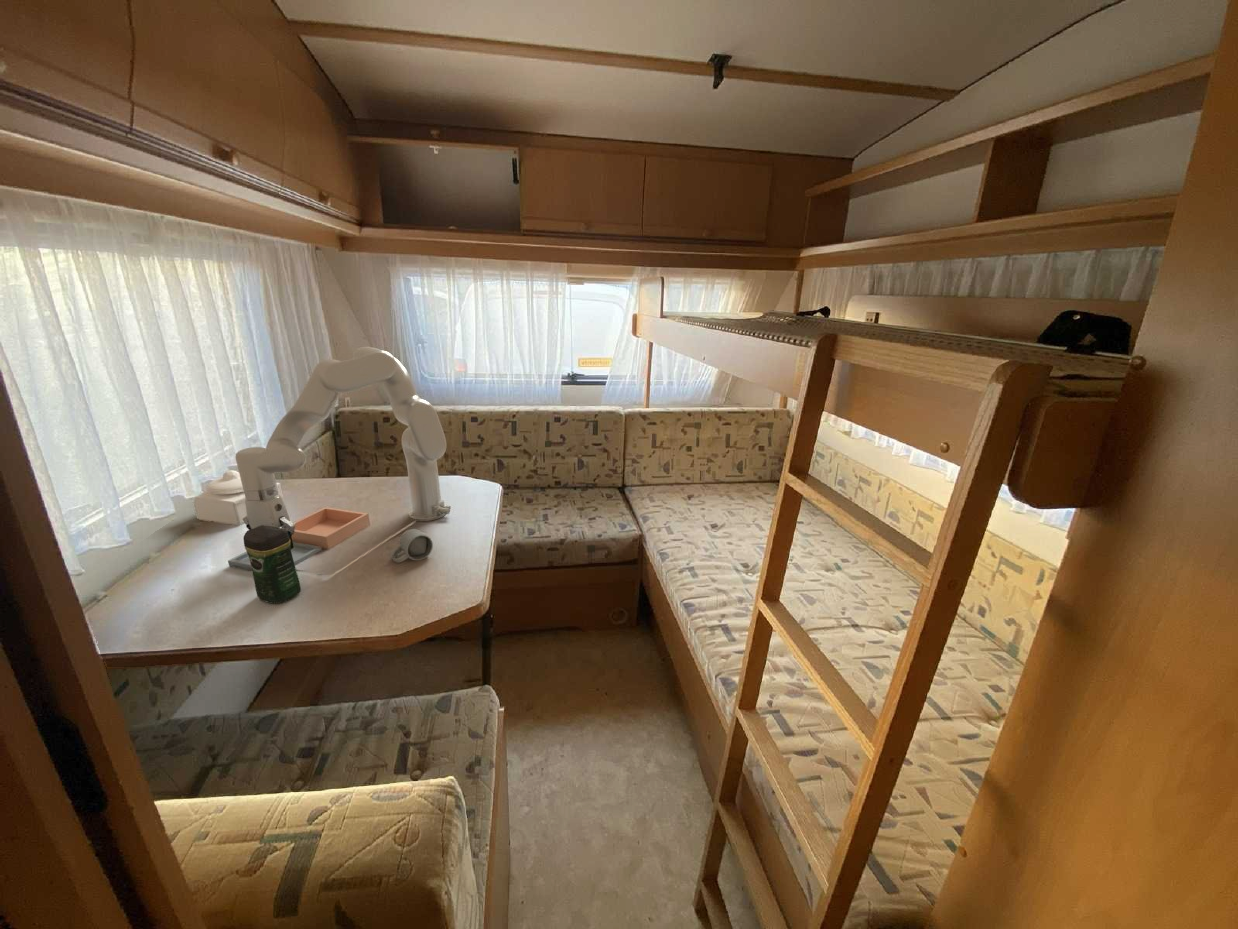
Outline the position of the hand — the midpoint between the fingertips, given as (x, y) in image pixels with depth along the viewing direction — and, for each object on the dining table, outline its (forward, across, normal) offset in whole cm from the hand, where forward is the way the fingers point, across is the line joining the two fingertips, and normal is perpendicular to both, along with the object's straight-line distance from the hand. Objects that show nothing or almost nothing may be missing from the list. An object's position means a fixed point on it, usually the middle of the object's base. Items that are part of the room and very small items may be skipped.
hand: (274, 547), depth 143 cm
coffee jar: (+4, -16, +14) cm, 21 cm away
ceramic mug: (+4, -35, -13) cm, 38 cm away
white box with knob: (+4, +39, -22) cm, 45 cm away
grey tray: (+4, 0, 0) cm, 4 cm away
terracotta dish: (+4, -2, -16) cm, 17 cm away
